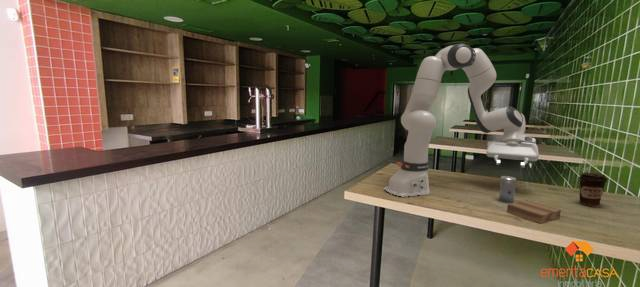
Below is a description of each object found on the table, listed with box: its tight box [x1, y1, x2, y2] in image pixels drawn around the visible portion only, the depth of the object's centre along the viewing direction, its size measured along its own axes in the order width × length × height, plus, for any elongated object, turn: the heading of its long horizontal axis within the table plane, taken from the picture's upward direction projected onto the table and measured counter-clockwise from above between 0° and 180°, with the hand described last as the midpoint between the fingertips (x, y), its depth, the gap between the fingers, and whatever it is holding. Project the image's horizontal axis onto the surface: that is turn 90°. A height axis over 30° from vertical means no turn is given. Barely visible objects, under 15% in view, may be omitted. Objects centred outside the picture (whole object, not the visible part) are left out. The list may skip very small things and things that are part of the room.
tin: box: [498, 175, 517, 204], centre depth 125 cm, size 6×6×10 cm
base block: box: [506, 199, 562, 224], centre depth 111 cm, size 12×12×3 cm
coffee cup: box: [578, 172, 608, 208], centre depth 119 cm, size 9×8×13 cm
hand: (510, 165), depth 132 cm, fingers open, 8 cm apart
